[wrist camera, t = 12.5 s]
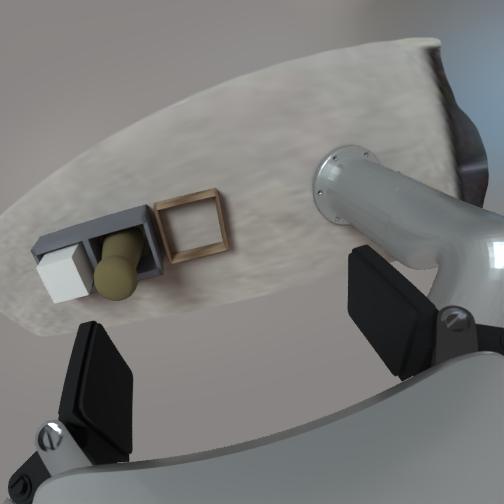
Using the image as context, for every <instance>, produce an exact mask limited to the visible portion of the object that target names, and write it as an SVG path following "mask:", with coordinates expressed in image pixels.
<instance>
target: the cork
mask: <svg viewBox="0 0 504 504" xmlns="http://www.w3.org/2000/svg"><path fill="white" fill-rule="evenodd" d="M144 247H145V239H144V236H143V234H142V232H141V231H140V230H139V229H138V228H137V227H136V226H132V227H129V228H125V229H121V230H118V231H114V232H111V233H107V234H105V236H104V240H103V249H102V260H101V261H100V262H99V263H98V265H97V266H96V268H95V272H94V284H95V286H96V288H97V290H98V292H99V293H100V294H101V295H102V296H104V297H105V298H107V299H110V300H114V301H119V300H123V299H126V298H127V297H129V296H131V295H132V293H133V292H134V291H135V289H136V286H137V283H138V276H137V271H136V267H137V265H138V262H139V260H140V257H141V255H142V252H143V250H144Z"/></svg>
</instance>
